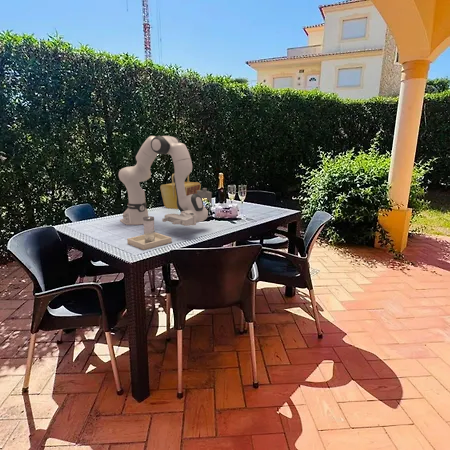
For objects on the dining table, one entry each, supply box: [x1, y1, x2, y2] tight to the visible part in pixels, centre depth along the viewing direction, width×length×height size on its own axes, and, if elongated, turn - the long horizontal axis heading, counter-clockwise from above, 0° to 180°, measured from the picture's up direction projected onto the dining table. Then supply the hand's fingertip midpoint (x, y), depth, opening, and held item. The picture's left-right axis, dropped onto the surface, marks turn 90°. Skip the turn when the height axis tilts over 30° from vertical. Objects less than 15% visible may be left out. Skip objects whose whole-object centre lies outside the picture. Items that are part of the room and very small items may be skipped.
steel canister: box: [143, 215, 156, 243], centre depth 169 cm, size 6×6×14 cm
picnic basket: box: [159, 172, 201, 210], centre depth 273 cm, size 29×26×30 cm
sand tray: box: [127, 232, 173, 251], centre depth 171 cm, size 16×18×3 cm
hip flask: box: [197, 187, 213, 205], centre depth 247 cm, size 16×4×20 cm, turn 45°
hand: (168, 221), depth 178 cm, fingers open, 8 cm apart
